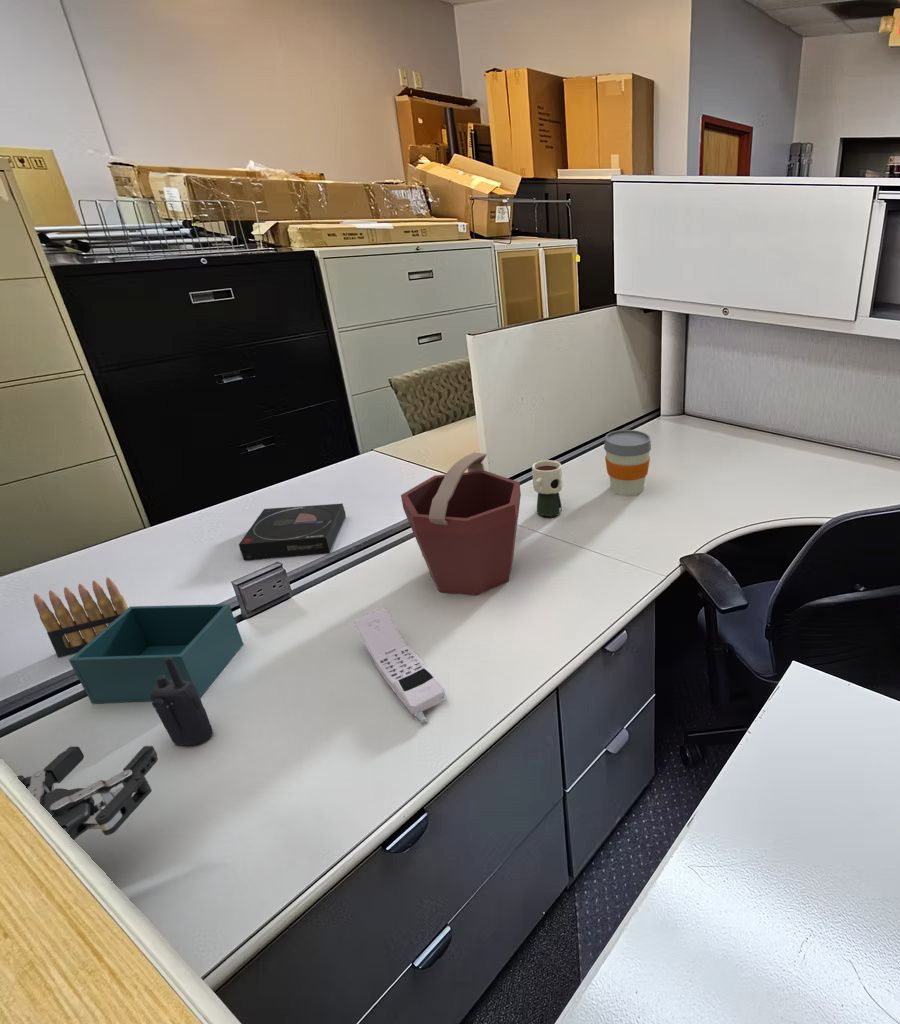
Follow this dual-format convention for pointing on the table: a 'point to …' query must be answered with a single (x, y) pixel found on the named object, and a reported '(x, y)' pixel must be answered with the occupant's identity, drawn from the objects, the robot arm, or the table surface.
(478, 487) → the bucket
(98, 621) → the ammunition clip
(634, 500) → the table surface
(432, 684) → the mobile phone
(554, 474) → the character mug
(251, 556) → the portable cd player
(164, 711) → the two-way radio
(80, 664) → the bin
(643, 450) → the reusable coffee cup
